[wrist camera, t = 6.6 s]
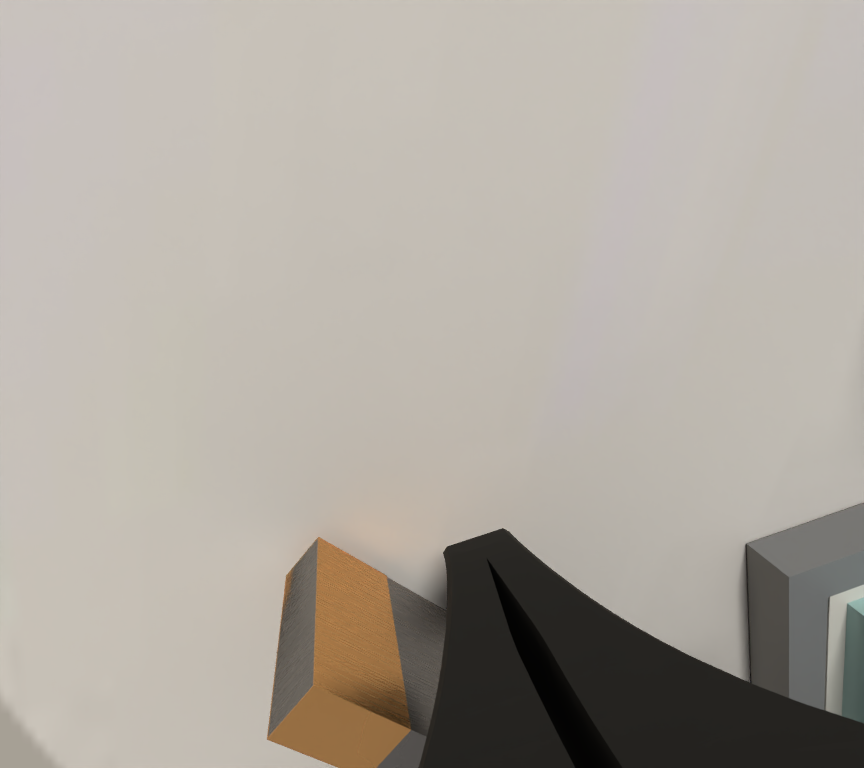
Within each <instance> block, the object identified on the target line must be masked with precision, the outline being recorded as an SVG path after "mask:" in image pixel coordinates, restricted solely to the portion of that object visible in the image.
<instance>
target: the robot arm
mask: <svg viewBox="0 0 864 768" xmlns="http://www.w3.org/2000/svg"><path fill="white" fill-rule="evenodd" d="M443 554H444V558H445V562H446V570H447V616H446V631H445V640H444V648H443V656H442V664H441V671H440V676H439V682H438V688H437V693H436V698H435V703H434V708H433V713H432V717H431V722H430V726H429V730H428V733H427V737H426V741H425V745H424V749H423V753H422V757H421V761H420V764H419V768H864V723H862V722H859V721H855V720H852V719H849V718H846V717H843V716H840V715H837V714H834V713H831V712H828V711H825V710H822V709H819V708H816V707H813V706H810V705H806V704H804V703H801V702H798V701H795V700H793V699H790V698H788V697H785V696H782V695H780V694H777V693H775V692H772V691H769V690H767V689H764V688H762V687H759V686H757V685H754V684H751V683H749V682H747V681H744V680H742V679H740V678H738V677H736V676H733V675H731V674H729V673H727V672H724V671H722V670H720V669H718V668H716V667H713V666H711V665H709V664H707V663H704V662H702V661H700V660H698V659H696V658H693V657H691V656H689V655H687V654H685V653H683V652H681V651H680V650H678V649H676V648H674V647H672V646H670V645H668V644H666V643H664V642H662V641H660V640H658V639H657V638H655V637H653V636H651V635H650V634H648V633H646V632H644V631H642V630H641V629H639V628H637V627H635V626H634V625H632V624H630V623H629V622H627V621H625V620H624V619H622V618H620V617H619V616H617V615H616V614H614V613H612V612H611V611H609V610H608V609H606V608H605V607H603V606H602V605H600V604H599V603H597V602H596V601H594V600H593V599H591V598H590V597H588V596H587V595H586V594H584V593H583V592H581V591H580V590H579V589H577V588H576V587H574V586H573V585H572V584H570V583H569V582H568V581H566V580H565V579H564V578H562V577H561V576H560V575H558V574H557V573H556V572H554V571H553V570H552V569H551V568H549V567H548V566H547V565H546V564H544V563H543V562H542V561H541V560H540V559H538V558H537V557H536V556H535V555H534V554H533V553H531V552H530V551H529V550H528V549H527V548H526V547H525V546H523V545H522V544H521V543H520V542H519V541H518V540H517V539H516V538H515V537H514V536H513V535H512V534H511V533H510V532H509V531H507V530H505V529H503V528H502V529H499V530H496V531H493V532H490V533H487V534H484V535H481V536H478V537H475V538H472V539H469V540H466V541H463V542H460V543H457V544H454V545H451V546H448V547H447V548H446V549H445V551H444V552H443Z"/></svg>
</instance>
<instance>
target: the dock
mask: <svg viewBox="0 0 864 768" xmlns="http://www.w3.org/2000/svg"><path fill="white" fill-rule="evenodd" d="M747 569H748V598H749V627H750V656H751V684H754V685H757V686H759V687H762V688H764V689H767V690H769V691H772V692H775V693H777V694H780V695H782V696H785V697H788V698H790V699H793V700H795V701H798V702H801V703H804V704H806V705H810V706H813V707H816V708H819V709H822V710H824V701H825V671H826V641H827V612H828V597H831V596H834V595H836V594H839V593H842V592H845V591H847V590H850V589H853V588H856V587H858V586H861V585H864V503H862V504H859V505H856V506H853V507H851V508H848V509H845V510H842V511H839V512H836V513H833V514H830V515H828V516H825V517H822V518H819V519H816V520H813V521H810V522H808V523H805V524H802V525H799V526H796V527H793V528H790V529H787V530H785V531H782V532H779V533H776V534H773V535H770V536H767V537H765V538H762V539H759V540H756V541H753V542H750V543H747Z"/></svg>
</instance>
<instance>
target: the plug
mask: <svg viewBox="0 0 864 768" xmlns="http://www.w3.org/2000/svg"><path fill="white" fill-rule="evenodd" d="M824 710H825V711H828V712H831V713H834V714H837V715H840V716H843V717H846V718H849V719H852V720H855V721H859V722H862V723H864V585H861V586H858V587H856V588H853V589H850V590H847V591H845V592H842V593H839V594H836V595H834V596H831V597H828V612H827V641H826V671H825V701H824Z"/></svg>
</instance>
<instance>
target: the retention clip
mask: <svg viewBox="0 0 864 768" xmlns="http://www.w3.org/2000/svg"><path fill="white" fill-rule="evenodd" d="M446 616H447V611H445V610H444V609H442V608H440V607H438V606H437V605H435V604H433V603H431V602H430V601H428V600H426V599H424V598H423V597H421V596H419V595H417V594H416V593H414V592H412V591H410V590H408V589H407V588H405V587H403V586H401V585H400V584H398V583H396V582H394V581H393V580H391V579H389V578H387V576H386V575H385V574H383V573H381V572H379V571H377V570H376V569H374V568H372V567H370V566H369V565H367V564H365V563H363V562H362V561H360V560H358V559H356V558H355V557H353V556H351V555H349V554H348V553H346V552H344V551H342V550H341V549H339V548H337V547H335V546H334V545H332V544H330V543H328V542H327V541H325V540H323V539H321V538H320V537H318V538H317V539H316V540H315V542H314V543H313V544H312V545H311V546H310V548H309V549H308V550H307V551H306V552H305V554H304V555H303V556H302V557H301V558H300V560H299V561H298V562H297V563H296V564H295V566H294V567H293V568H292V569H291V570H290V572H289V573H288V574H287V575H286V581H285V590H284V598H283V607H282V615H281V624H280V633H279V641H278V650H277V658H276V667H275V675H274V684H273V692H272V701H271V710H270V718H269V727H268V735H267V740H270V741H272V742H275V743H277V744H280V745H282V746H285V747H287V748H290V749H293V750H295V751H298V752H300V753H303V754H305V755H308V756H310V757H313V758H315V759H318V760H320V761H323V762H325V763H328V764H330V765H333V766H335V767H338V768H419V764H420V761H421V757H422V753H423V749H424V745H425V741H426V737H427V733H428V730H429V726H430V722H431V717H432V713H433V708H434V703H435V698H436V693H437V688H438V682H439V676H440V671H441V664H442V656H443V648H444V640H445V631H446Z"/></svg>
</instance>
